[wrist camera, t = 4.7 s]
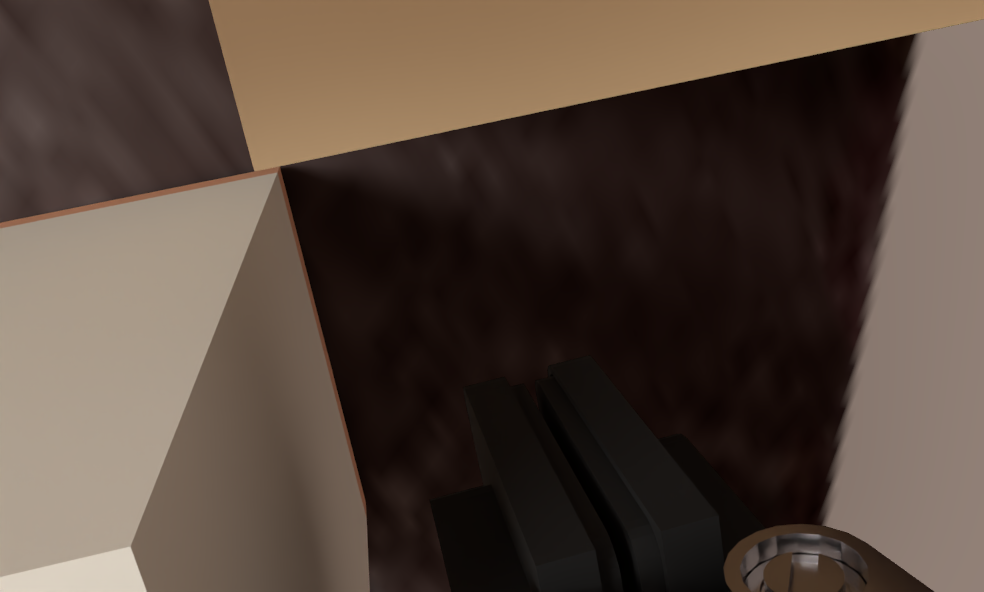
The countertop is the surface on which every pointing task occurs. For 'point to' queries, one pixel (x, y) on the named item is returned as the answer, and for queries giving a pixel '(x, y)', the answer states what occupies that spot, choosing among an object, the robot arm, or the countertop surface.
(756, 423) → the countertop surface
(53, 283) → the cream block
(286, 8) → the oak block
